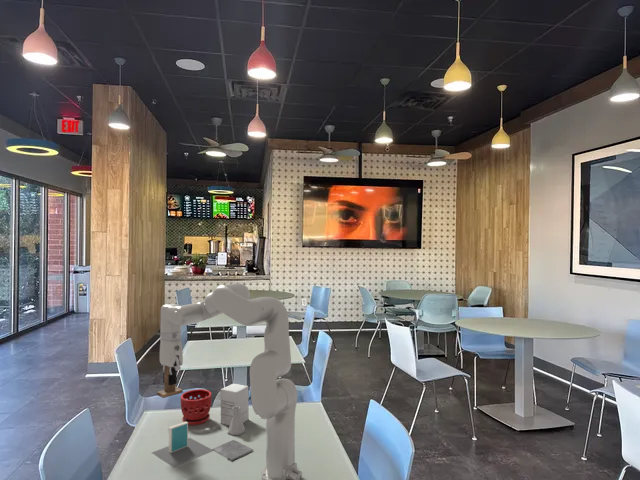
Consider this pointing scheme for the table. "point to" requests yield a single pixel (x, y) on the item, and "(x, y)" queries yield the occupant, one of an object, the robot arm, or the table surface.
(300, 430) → the table surface
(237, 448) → the plate
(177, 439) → the tile
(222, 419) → the supplement box
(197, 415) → the plant pot
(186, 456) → the mat
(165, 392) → the wooden post stand
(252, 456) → the table surface
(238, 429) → the flask
